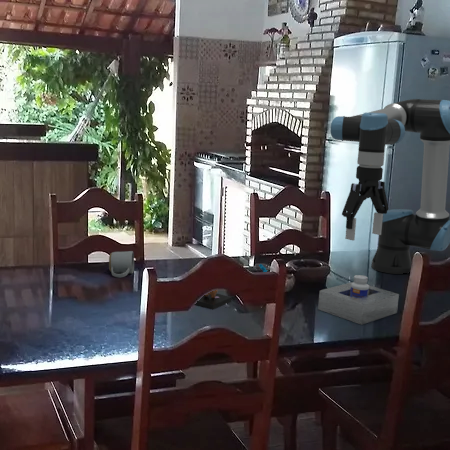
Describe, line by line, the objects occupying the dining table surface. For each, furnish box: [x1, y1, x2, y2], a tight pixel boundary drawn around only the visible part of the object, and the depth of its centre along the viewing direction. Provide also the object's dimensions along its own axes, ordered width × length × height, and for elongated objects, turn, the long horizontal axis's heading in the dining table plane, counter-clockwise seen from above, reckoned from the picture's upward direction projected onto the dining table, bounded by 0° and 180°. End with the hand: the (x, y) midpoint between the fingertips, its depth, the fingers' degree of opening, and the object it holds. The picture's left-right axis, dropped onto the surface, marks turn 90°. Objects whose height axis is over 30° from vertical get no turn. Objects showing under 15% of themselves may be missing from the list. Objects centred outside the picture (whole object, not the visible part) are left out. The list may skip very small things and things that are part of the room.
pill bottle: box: [350, 274, 369, 299], centre depth 194 cm, size 5×5×10 cm
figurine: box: [194, 289, 233, 310], centre depth 195 cm, size 10×10×12 cm
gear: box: [258, 263, 268, 273], centre depth 216 cm, size 11×6×10 cm
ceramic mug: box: [108, 250, 135, 279], centre depth 221 cm, size 11×8×8 cm
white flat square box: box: [317, 281, 400, 326], centre depth 194 cm, size 18×16×6 cm
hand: (363, 236), depth 192 cm, fingers open, 13 cm apart
